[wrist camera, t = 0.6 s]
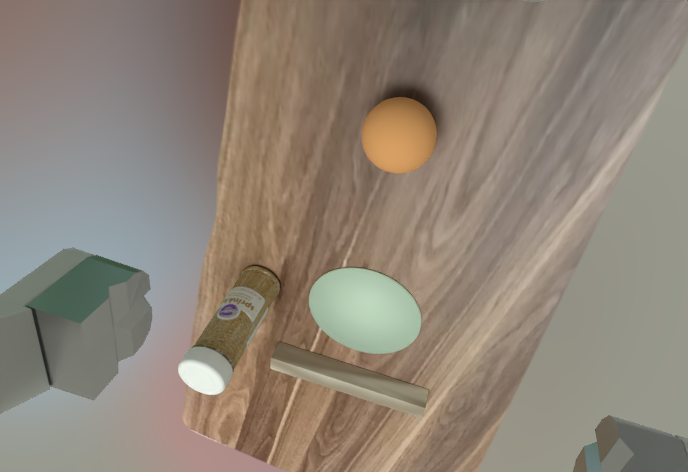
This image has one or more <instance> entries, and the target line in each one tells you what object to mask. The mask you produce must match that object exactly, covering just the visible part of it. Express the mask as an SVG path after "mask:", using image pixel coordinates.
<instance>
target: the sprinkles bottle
mask: <svg viewBox="0 0 688 472" xmlns="http://www.w3.org/2000/svg"><path fill="white" fill-rule="evenodd" d="M279 290H280V283H279V281H278V279H277V278H276V277H275V275H273V273H271V272H270V271H269V270H267V269H265V268H262V267H259V266H250V267H248V268H246V269H245V270H243V272H242V273H241V276H240V278H239V280H238V281H237V282H236V284H235V286H234V287H233V288H232V289H231V290H230V292H229V293H228V294H227V296H226V297H225V299H224V300H223V302H222V303H221V305H220V306H219V308H218V309H217V311H216V313H215V314H214V316H213V318H212V319H211V321H210V322H209V324H208V325H207V327H206V328H205V330H204V331H203V333H202V334H201V336H200V337H199V339H198V340H197V342H196V344H195V345H194V346H193V347H192V348H191V349H189V350H188V352H187V353H186V355H185V356H184V358H183V359H182V361H181V362H180V364H179V366H178V371H179V375H180V376H181V378H182V380H183V381H184V382H185V383H186V384H187V385H188V386H190V387H191V388H193V389H194V390H196V391H198V392H201V393H204V394H208V395H216V394H219V393H221V392H222V391H223V390H224V389H225V387H226V386H227V384H228V382H229V381H230V379H231V377H232V375H233V372H234V368H235V366H236V365H237V363H238V361H239V359H240V358H241V356H242V354H243V353H244V351H245V350H246V349H247V347H248V345H249V344H250V342H251V340H252V338H253V337H254V335H255V333H256V331H257V330H258V328H259V326H260V324H261V322H262V321H263V319H264V317H265V315H266V314H267V312H268V309H269V307H270V305H271V303H272V302H273V300H274V298H275V297H276V296H277V295H278V293H279Z"/></svg>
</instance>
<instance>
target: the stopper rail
mask: <svg viewBox="0 0 688 472" xmlns="http://www.w3.org/2000/svg"><path fill="white" fill-rule="evenodd" d="M270 369H273V370H276V371H279V372H282V373H285V374H288V375H291V376H294V377H298V378H301V379H304V380H307V381H310V382H313V383H316V384H319V385H322V386H325V387H328V388H331V389H334V390H337V391H340V392H343V393H346V394H349V395H352V396H355V397H358V398H361V399H364V400H367V401H370V402H373V403H376V404H379V405H382V406H386V407H389V408H392V409H395V410H398V411H401V412H404V413H407V414H410V415H413V416H416V417H419V418H422V415H423V413H424V410H425V407H426V402H427V397H428V391H429V390H428V389H425V388H422V387H419V386H416V385H413V384H410V383H406V382H403V381H400V380H397V379H394V378H391V377H388V376H385V375H382V374H378V373H375V372H372V371H369V370H366V369H363V368H360V367H357V366H353V365H350V364H347V363H344V362H341V361H338V360H335V359H332V358H329V357H325V356H322V355H319V354H316V353H313V352H310V351H307V350H304V349H300V348H297V347H294V346H291V345H288V344H285V343H282V342H279V343H278V345H277V347H276V349H275V351H274V353H273V355H272V357H271V368H270Z"/></svg>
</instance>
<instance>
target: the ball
mask: <svg viewBox="0 0 688 472" xmlns="http://www.w3.org/2000/svg"><path fill="white" fill-rule="evenodd" d="M436 140H437V129H436V124H435V121H434V119H433V117H432V115H431V113H430V112H429V111H428V109H427V108H426V107H425V106H423V105H422V104H421V103H419V102H418V101H416V100H413V99H410V98H406V97H394V98H390V99H387V100H384V101H382V102H381V103H379V104H378V105H376V106H375V107H374V108H373V109H372V110H371V111H370V113H369V114H368V115H367V117H366V119H365V121H364V124H363V128H362V144H363V148H364V151H365V153H366V155H367V156H368V158H369V159H370V160H371V162H372V163H373V164H374V165H376V166H377V167H379V168H380V169H382V170H384V171H387V172H391V173H406V172H410V171H413V170H415V169H417V168H419V167H420V166H422V165H423V164H424V163H425V162H426V161H427V160H428V159H429V157H430V156H431V154H432V152H433V150H434V148H435V145H436Z"/></svg>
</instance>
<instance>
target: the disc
mask: <svg viewBox="0 0 688 472" xmlns="http://www.w3.org/2000/svg"><path fill="white" fill-rule="evenodd" d="M309 306H310V310H311V313H312V315H313V318H314V319H315V321H316V323H317V324H318V325H319V326H320V328H321V329H322V330H323V331H324V332H325V333H326V334H327V335H329V336H330V337H331V338H333V339H334V340H335V341H337V342H339V343H340V344H342V345H344V346H347V347H349V348H351V349H354V350H357V351H361V352H366V353H374V354H385V353H392V352H396V351H399V350H401V349H403V348H405V347H407V346H408V345H410V344H411V343H412V342H413V341H414V340H415V339H416V337H417V336H418V334H419V331H420V328H421V312H420V309H419V307H418V305H417V303H416V301H415V299H414V298H413V296H412V295H411V294H410V293H409V292H408V290H407V289H405V288H404V287H403V286H402V285H401V284H399V283H398V282H397V281H395V280H394V279H392V278H390V277H388V276H386V275H384V274H382V273H379V272H376V271H374V270H370V269H365V268H358V267H346V268H339V269H335V270H332V271H329V272H327V273H325V274H324V275H322V276H321V277H320V278H319V279H318V280H317V281H316V282H315V283H314V285H313V286H312V289H311V291H310V295H309Z"/></svg>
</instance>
